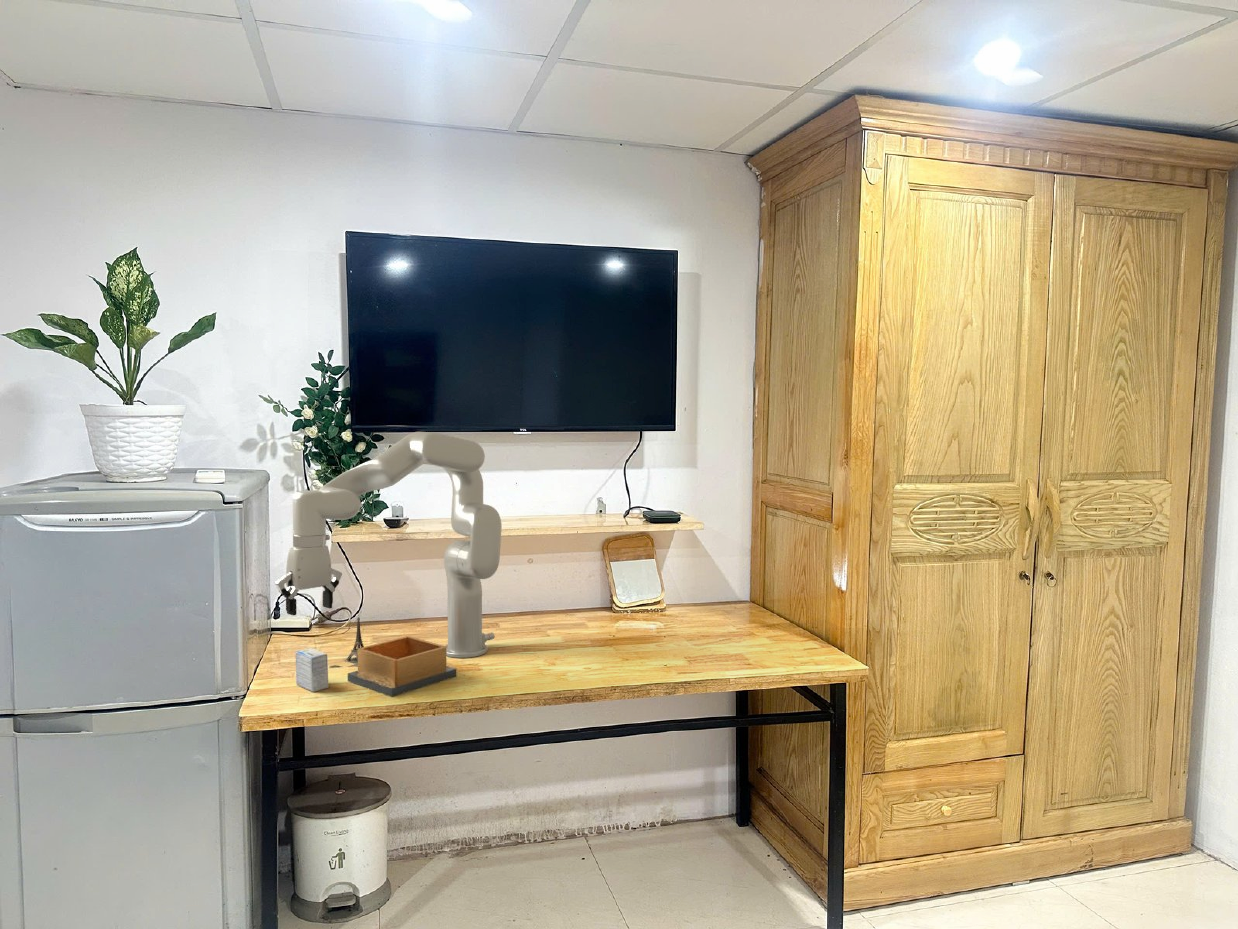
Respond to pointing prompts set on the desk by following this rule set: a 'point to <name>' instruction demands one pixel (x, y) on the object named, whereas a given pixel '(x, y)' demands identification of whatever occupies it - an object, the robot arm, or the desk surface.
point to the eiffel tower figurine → (354, 651)
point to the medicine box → (311, 669)
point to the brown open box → (401, 666)
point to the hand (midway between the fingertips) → (309, 611)
